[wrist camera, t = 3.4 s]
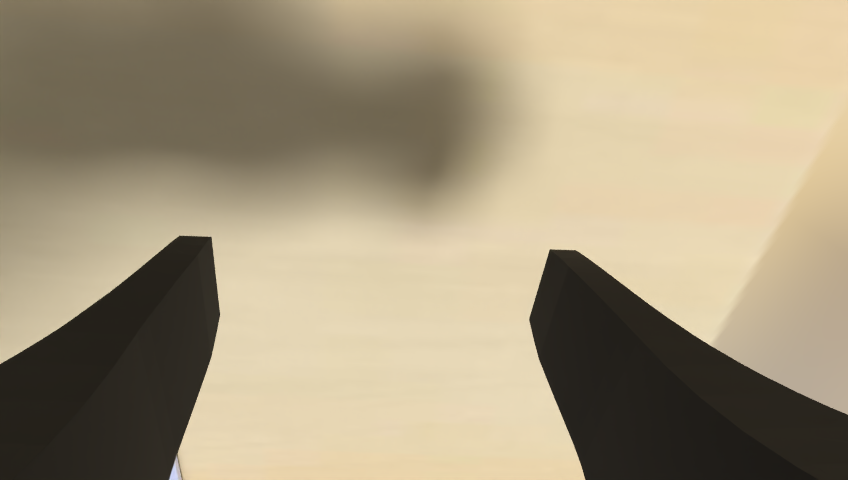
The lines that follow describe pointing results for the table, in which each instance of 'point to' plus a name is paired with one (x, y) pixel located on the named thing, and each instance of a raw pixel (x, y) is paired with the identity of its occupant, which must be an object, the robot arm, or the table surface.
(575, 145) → the table surface
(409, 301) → the table surface
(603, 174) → the table surface
